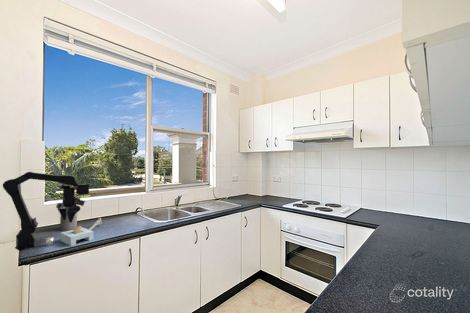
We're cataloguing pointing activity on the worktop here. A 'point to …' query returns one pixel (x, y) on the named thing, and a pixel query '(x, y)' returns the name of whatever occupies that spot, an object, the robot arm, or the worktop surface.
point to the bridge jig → (76, 236)
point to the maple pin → (77, 231)
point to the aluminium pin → (49, 241)
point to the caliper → (96, 223)
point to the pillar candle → (68, 223)
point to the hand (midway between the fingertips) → (67, 221)
